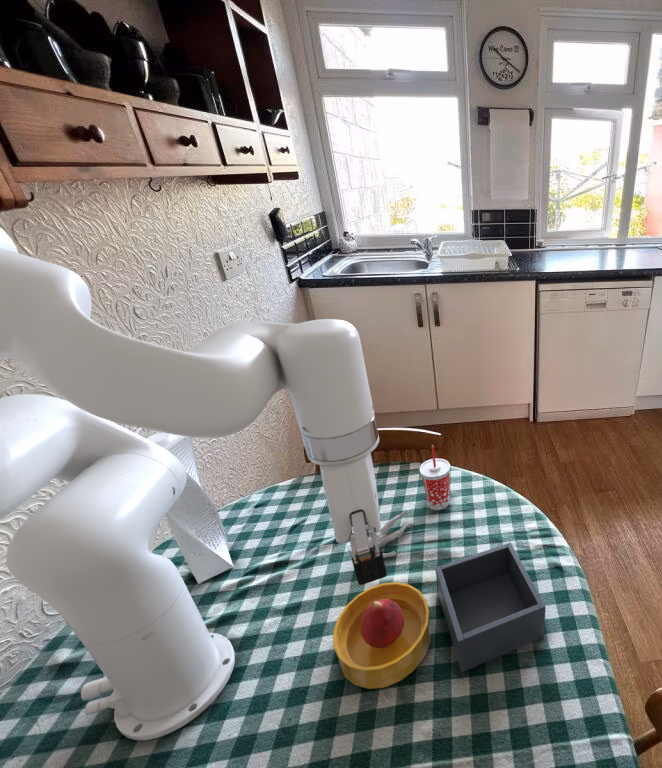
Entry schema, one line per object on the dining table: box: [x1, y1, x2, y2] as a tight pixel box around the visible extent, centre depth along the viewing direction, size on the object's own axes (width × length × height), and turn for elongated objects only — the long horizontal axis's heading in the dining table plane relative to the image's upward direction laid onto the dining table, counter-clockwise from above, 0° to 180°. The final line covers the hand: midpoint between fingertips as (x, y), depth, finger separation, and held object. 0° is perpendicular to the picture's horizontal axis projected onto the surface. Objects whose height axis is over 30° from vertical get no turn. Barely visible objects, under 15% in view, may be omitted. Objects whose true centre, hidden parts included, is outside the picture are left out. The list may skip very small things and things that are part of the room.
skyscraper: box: [134, 427, 235, 585], centre depth 66 cm, size 8×8×28 cm
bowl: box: [332, 581, 433, 690], centre depth 59 cm, size 13×13×4 cm
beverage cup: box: [419, 445, 451, 511], centre depth 83 cm, size 6×6×14 cm
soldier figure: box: [347, 510, 414, 559], centre depth 75 cm, size 8×5×12 cm
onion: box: [361, 599, 404, 648], centre depth 58 cm, size 6×6×8 cm
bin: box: [434, 542, 546, 673], centre depth 62 cm, size 13×13×7 cm
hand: (368, 549), depth 52 cm, fingers open, 9 cm apart
